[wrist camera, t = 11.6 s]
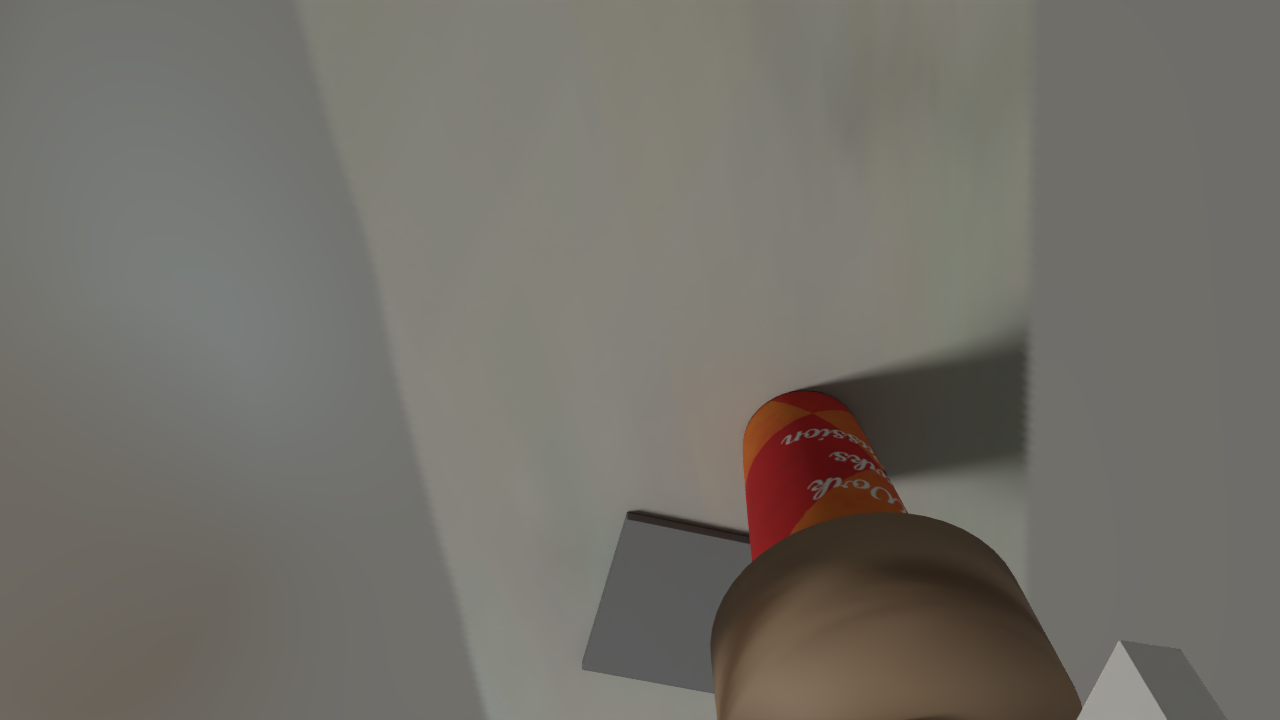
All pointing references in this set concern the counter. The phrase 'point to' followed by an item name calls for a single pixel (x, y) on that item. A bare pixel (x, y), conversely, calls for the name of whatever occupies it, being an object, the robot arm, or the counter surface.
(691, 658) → the mat
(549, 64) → the counter surface
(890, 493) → the paper cup
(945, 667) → the lid
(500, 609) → the counter surface
